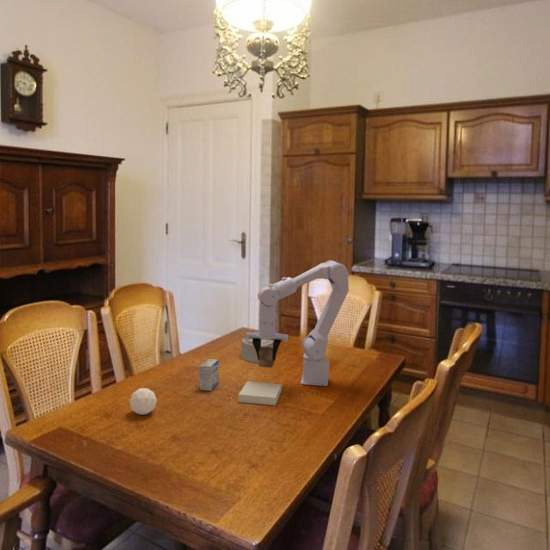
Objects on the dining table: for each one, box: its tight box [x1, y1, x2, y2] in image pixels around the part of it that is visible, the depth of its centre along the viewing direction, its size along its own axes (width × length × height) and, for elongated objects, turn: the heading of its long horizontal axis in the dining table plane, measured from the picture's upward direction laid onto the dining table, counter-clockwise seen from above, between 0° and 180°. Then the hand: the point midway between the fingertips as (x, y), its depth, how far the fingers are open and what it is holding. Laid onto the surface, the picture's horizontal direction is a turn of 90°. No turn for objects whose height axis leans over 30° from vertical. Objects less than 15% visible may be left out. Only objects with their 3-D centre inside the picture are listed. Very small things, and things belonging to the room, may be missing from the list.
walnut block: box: [258, 346, 275, 369], centre depth 172 cm, size 5×5×6 cm
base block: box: [238, 380, 282, 406], centre depth 163 cm, size 12×12×3 cm
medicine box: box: [198, 358, 220, 392], centre depth 170 cm, size 8×4×9 cm, turn 168°
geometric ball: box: [129, 387, 158, 416], centre depth 148 cm, size 8×8×8 cm
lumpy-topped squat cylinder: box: [240, 337, 274, 364], centre depth 202 cm, size 10×13×9 cm
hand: (266, 359), depth 173 cm, fingers closed on walnut block, 5 cm apart
